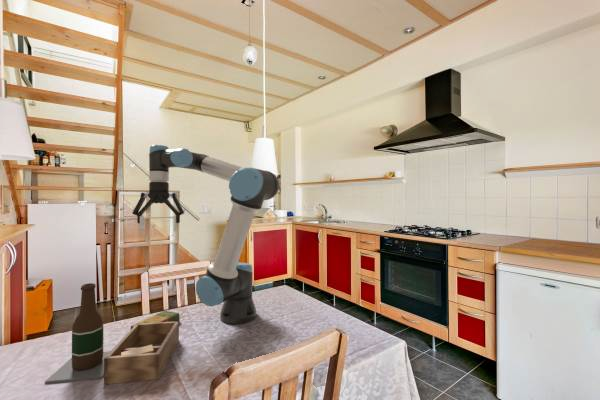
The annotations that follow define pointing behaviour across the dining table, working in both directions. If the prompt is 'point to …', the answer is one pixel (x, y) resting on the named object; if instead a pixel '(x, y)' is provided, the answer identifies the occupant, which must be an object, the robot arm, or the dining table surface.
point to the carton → (161, 318)
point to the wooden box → (142, 364)
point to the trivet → (77, 372)
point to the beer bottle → (87, 332)
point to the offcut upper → (139, 350)
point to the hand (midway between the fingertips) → (158, 231)
